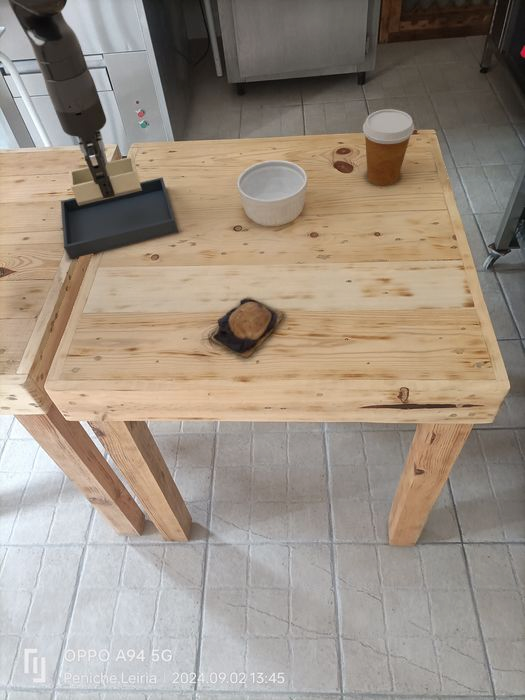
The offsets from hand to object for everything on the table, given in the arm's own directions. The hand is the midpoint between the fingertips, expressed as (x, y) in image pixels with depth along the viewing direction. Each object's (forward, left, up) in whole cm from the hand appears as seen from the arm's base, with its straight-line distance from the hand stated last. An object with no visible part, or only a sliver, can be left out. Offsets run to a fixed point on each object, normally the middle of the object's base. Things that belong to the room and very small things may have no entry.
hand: (107, 186), depth 100 cm
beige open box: (0, 0, -1) cm, 1 cm away
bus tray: (0, 0, -8) cm, 8 cm away
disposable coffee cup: (+54, -6, -8) cm, 55 cm away
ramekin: (+30, -8, -8) cm, 32 cm away
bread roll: (+17, -36, -8) cm, 41 cm away
